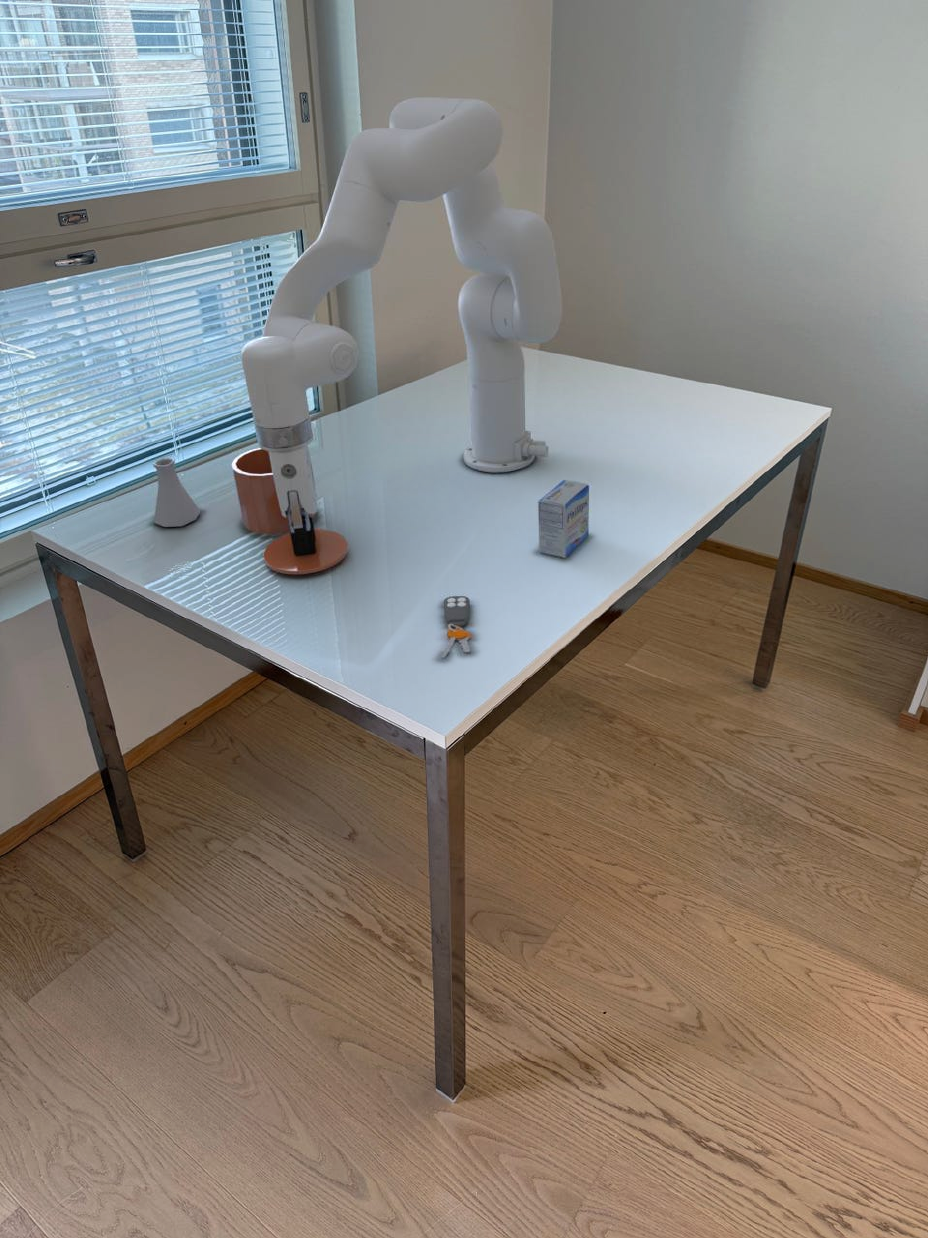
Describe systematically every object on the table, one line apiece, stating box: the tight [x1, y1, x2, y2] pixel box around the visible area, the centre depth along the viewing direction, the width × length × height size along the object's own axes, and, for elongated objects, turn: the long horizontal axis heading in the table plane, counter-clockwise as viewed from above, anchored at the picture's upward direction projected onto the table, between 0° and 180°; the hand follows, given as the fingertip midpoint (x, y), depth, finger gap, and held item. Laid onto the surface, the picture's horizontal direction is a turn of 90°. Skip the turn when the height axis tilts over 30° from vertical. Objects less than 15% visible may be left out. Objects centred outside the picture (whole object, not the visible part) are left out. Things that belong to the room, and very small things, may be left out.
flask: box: [152, 457, 201, 528], centre depth 152 cm, size 7×7×10 cm
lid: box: [262, 517, 349, 575], centre depth 138 cm, size 12×12×6 cm
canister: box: [230, 447, 316, 535], centre depth 149 cm, size 11×12×10 cm
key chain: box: [441, 595, 472, 659], centre depth 123 cm, size 13×4×2 cm, turn 1°
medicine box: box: [537, 479, 590, 559], centre depth 138 cm, size 8×4×9 cm, turn 148°
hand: (305, 547), depth 139 cm, fingers closed on lid, 2 cm apart
